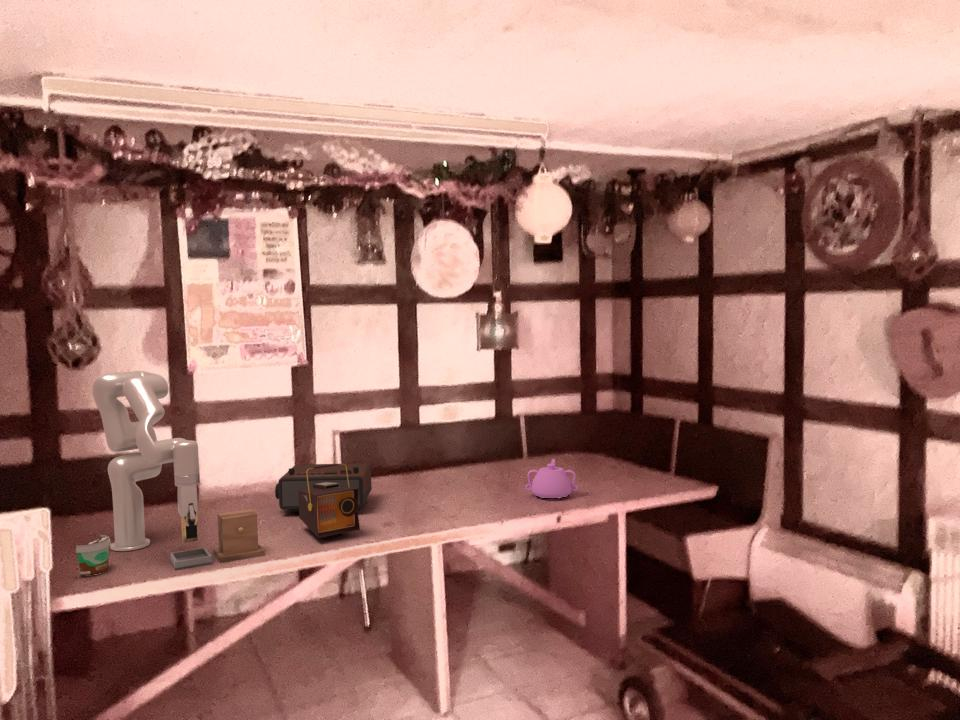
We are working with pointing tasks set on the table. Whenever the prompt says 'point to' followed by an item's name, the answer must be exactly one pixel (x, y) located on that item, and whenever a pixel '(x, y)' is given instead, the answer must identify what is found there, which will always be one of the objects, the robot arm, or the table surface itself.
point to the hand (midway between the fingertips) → (190, 535)
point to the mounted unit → (237, 536)
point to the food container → (94, 556)
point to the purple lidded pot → (551, 482)
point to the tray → (190, 558)
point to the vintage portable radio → (329, 507)
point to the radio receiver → (335, 474)
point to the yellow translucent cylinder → (183, 527)
